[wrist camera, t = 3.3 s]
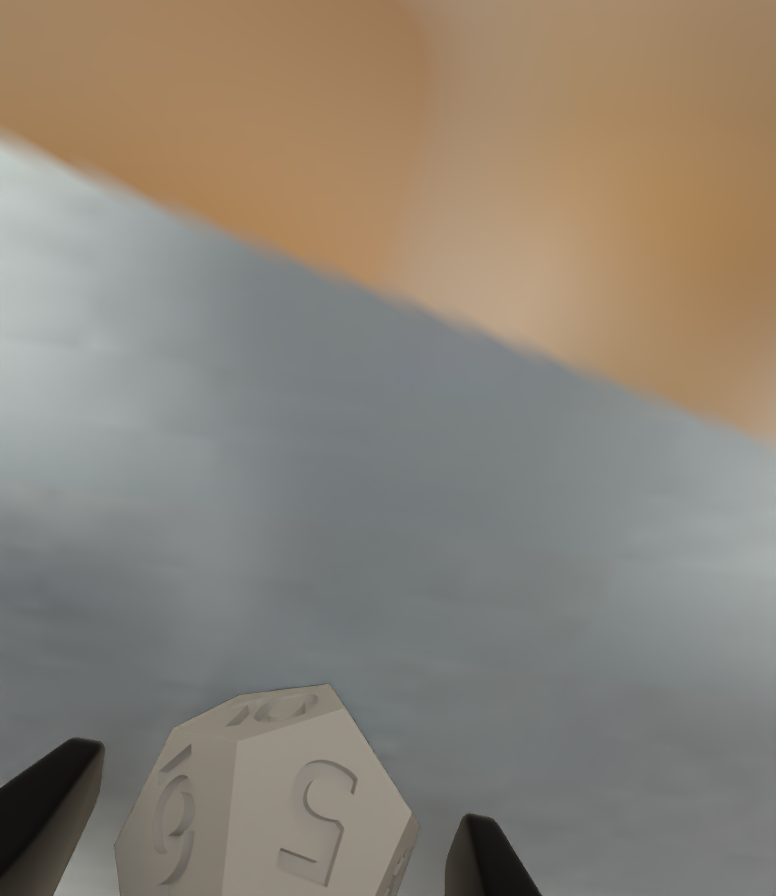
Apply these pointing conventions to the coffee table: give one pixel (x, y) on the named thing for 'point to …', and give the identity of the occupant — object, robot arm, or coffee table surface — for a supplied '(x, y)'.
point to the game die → (267, 806)
